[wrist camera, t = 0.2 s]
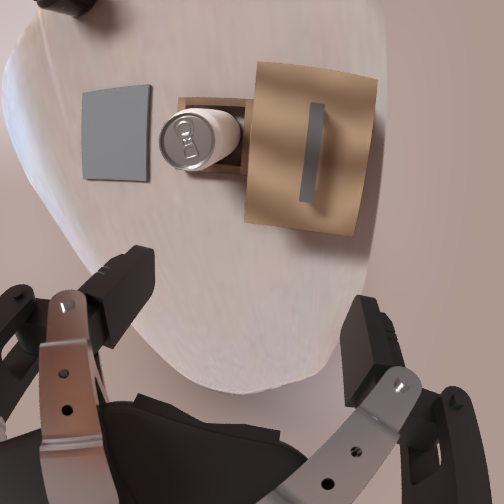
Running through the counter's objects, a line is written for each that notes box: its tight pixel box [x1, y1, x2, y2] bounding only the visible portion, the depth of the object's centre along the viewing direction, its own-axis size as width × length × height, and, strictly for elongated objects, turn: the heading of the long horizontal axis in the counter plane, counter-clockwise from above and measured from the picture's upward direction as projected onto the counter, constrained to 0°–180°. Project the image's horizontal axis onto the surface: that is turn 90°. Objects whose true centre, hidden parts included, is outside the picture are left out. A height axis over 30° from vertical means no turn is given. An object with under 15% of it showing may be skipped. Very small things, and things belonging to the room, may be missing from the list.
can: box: [159, 108, 241, 171], centre depth 31 cm, size 6×6×12 cm
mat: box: [82, 85, 151, 181], centre depth 37 cm, size 14×12×1 cm
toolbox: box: [175, 62, 378, 237], centre depth 30 cm, size 17×22×13 cm
